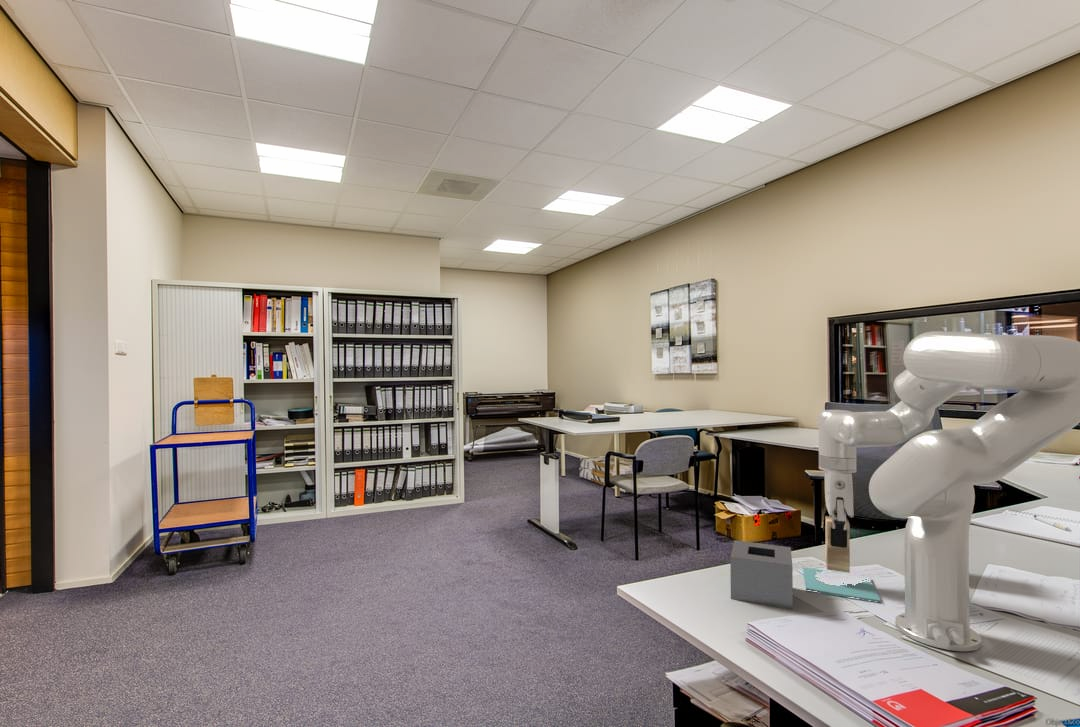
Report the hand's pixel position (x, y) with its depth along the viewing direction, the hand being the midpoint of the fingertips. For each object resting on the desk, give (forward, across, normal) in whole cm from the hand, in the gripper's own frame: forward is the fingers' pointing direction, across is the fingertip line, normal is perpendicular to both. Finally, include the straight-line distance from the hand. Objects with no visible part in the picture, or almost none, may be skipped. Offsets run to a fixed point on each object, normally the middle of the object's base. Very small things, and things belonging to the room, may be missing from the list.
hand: (837, 542), depth 117 cm
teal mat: (+10, 0, 0) cm, 10 cm away
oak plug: (+6, 0, 0) cm, 6 cm away
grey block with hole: (+10, -12, +16) cm, 22 cm away
